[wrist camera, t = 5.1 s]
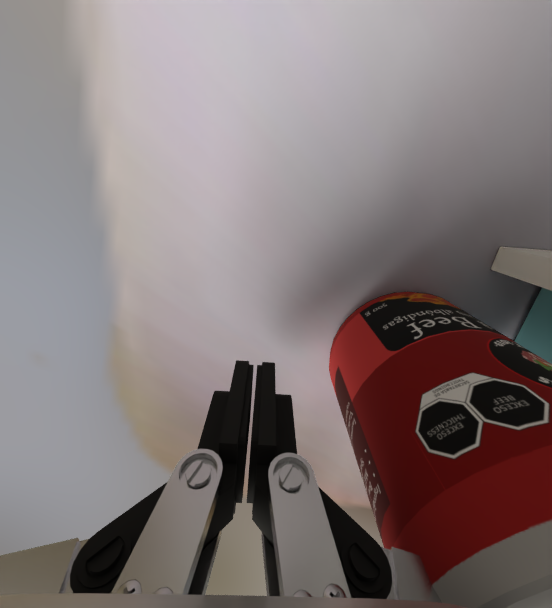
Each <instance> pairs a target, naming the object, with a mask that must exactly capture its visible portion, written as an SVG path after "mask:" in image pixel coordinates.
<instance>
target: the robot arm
mask: <svg viewBox="0 0 552 608" xmlns="http://www.w3.org/2000/svg"><path fill="white" fill-rule="evenodd" d="M252 380H253V365H249V361H236V364H235V369H234V374H233V378H232V383H231V388H230V392H228V391H215V392H214V394H213V397H212V401H211V404H210V408H209V411H208V415H207V418H206V422H205V425H204V429H203V432H202V435H201V439H200V442H199V446H198V449H197V450H193V451H191V452H189V453H187V454H186V455H185V456H184V457H182V458H181V459H180V461H179V462H178V464H177V465H176V467H175V469H174V471H173V473H172V475H171V476H170V478H169V481H168V482H167V483H165V484H164V485H163V486H161V487H160V488H158V489H157V490H156V491H154V492H153V493H151V494H150V495H149V496H147V497H146V498H144V499H143V500H142V501H140V502H139V503H137V504H136V505H135V506H133V507H132V508H130V509H129V510H128V511H126V512H125V513H123V514H122V515H121V516H119V517H118V518H116V519H115V520H114V521H112V522H111V523H109V524H108V525H107V526H105V527H104V528H102V529H101V530H100V531H98V532H97V533H96V534H95V535H94V536H92V537H91V538H90V539H87V540H83V541H79V539H78V538H75V539H70V540H66V541H62V542H57V543H53V544H49V545H44V546H40V547H35V548H31V549H27V550H22V551H18V552H14V553H9V554H5V555H1V556H0V608H467V607H462V606H458V605H454V604H445V603H442V601H441V600H440V598H439V596H438V595H437V593H436V591H435V590H434V588H433V586H432V584H431V582H430V579H429V577H428V574H427V572H426V570H425V567H424V565H423V562H422V560H421V557H420V555H417V554H413V553H410V552H407V551H404V550H401V549H398V548H394V547H391V549H390V550H389V549H386V548H383V547H380V545H379V544H378V543H377V542H376V541H375V540H374V539H373V538H372V537H371V536H370V535H369V534H368V533H367V532H366V531H365V530H364V529H363V528H362V527H361V526H359V525H358V524H357V523H356V522H355V521H354V520H353V519H352V518H351V517H350V516H349V515H348V514H347V513H346V512H345V511H344V510H342V509H341V508H340V507H339V506H338V505H337V504H336V503H335V502H334V501H333V500H332V499H331V498H330V497H329V496H328V495H327V494H326V493H324V492H323V491H322V490H321V489H320V488H319V487H318V484H317V481H316V478H315V474H314V471H313V469H312V467H311V465H310V464H309V462H308V461H307V460H306V459H305V458H303V457H302V456H300V455H298V454H297V449H296V438H295V428H294V418H293V407H292V398H291V395H281V394H275V363H269V362H262V365H257V376H256V388H255V400H254V413H253V425H252V437H251V450H250V464H249V479H248V493H247V503H253V510H252V514H253V518H252V520H253V521H254V522H255V523H256V525H257V526H258V527H259V529H260V530H261V531H262V547H263V557H264V569H265V580H266V590H267V596H234V595H205V593H206V589H207V586H208V582H209V578H210V574H211V571H212V567H213V563H214V560H215V556H216V552H217V549H218V545H219V541H220V538H221V533H222V529H223V528H224V527H225V526H226V525H227V524H228V523H229V522H230V521H231V520H232V519H233V513H235V506H236V503H242V496H243V486H244V475H245V465H246V454H247V444H248V434H249V423H250V411H251V396H252Z"/></svg>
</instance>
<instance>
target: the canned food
mask: <svg viewBox="0 0 552 608" xmlns="http://www.w3.org/2000/svg"><path fill="white" fill-rule="evenodd" d="M329 371H330V376H331V380H332V383H333V386H334V390H335V393H336V396H337V399H338V402H339V406H340V409H341V412H342V415H343V418H344V421H345V425H346V428H347V431H348V434H349V437H350V440H351V444H352V447H353V450H354V453H355V456H356V460H357V463H358V466H359V469H360V472H361V475H362V479H363V482H364V485H365V488H366V491H367V494H368V498H369V501H370V504H371V507H372V510H373V513H374V517H375V520H376V523H377V526H378V529H379V532H380V536H381V539H382V542H383V545H384V548H386V549H389V550H390V549H391V547H394V548H398V549H401V550H404V551H407V552H410V553H413V554H417V555H420V557H421V560H422V562H423V565H424V567H425V570H426V572H427V574H428V577H429V579H430V582H431V584H432V586H433V588H434V590H435V591H436V593H437V595H438V596H439V598H440V600H441V601H442V603H445V604H454V605H458V606H462V607H467V608H552V364H551V363H549V362H547V361H546V360H544V359H542V358H541V357H539V356H537V355H536V354H534V353H532V352H531V351H529V350H527V349H526V348H524V347H522V346H521V345H519V344H518V343H516V342H514V341H513V340H511V339H509V338H508V337H506V336H504V335H503V334H501V333H499V332H498V331H496V330H494V329H493V328H491V327H489V326H488V325H486V324H484V323H483V322H481V321H480V320H478V319H476V318H475V317H473V316H471V315H470V314H468V313H466V312H465V311H463V310H461V309H460V308H458V307H456V306H455V305H453V304H451V303H450V302H448V301H446V300H445V299H443V298H440V297H437V296H434V295H431V294H424V293H415V292H399V293H392V294H388V295H384V296H381V297H378V298H376V299H374V300H372V301H370V302H368V303H366V304H365V305H363V306H362V307H360V308H358V309H357V310H356V311H355V312H354V313H353V314H351V315H350V316H349V317H348V318H347V319H346V320H345V322H344V323H343V324H342V326H341V327H340V328H339V330H338V332H337V334H336V336H335V338H334V340H333V344H332V347H331V352H330V362H329Z"/></svg>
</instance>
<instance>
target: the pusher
mask: <svg viewBox="0 0 552 608" xmlns="http://www.w3.org/2000/svg"><path fill="white" fill-rule="evenodd" d="M514 342H516V343H518V344H519V345H521V346H522V347H524V348H526V349H527V350H529V351H531V352H532V353H534V354H536V355H537V356H539V357H541V358H542V359H544V360H546V361H547V362H549V363H551V364H552V291H551V290H548V289H545V288H542V289H541V291H540V293H539V295H538V297H537V298H536V300H535V302H534V304H533V306H532V308H531V310H530V312H529V314H528V316H527V318H526V320H525V322H524V324H523V326H522V328H521V330H520V331H519V333H518V335H517V337H516V339H515V341H514Z"/></svg>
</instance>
